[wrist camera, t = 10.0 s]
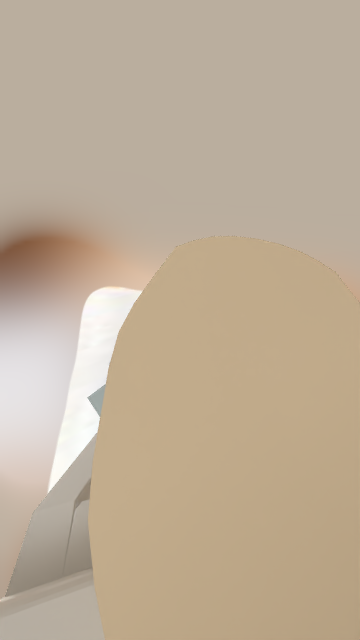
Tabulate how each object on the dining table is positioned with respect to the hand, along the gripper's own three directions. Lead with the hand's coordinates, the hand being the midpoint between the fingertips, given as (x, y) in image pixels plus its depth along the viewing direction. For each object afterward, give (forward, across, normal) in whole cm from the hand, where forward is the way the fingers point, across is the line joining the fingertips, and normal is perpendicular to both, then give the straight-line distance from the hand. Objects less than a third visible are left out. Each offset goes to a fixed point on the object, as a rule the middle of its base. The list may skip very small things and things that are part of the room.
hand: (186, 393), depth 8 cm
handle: (+6, 0, +7) cm, 9 cm away
